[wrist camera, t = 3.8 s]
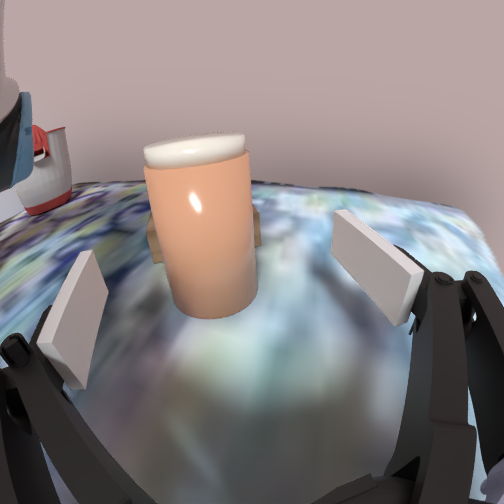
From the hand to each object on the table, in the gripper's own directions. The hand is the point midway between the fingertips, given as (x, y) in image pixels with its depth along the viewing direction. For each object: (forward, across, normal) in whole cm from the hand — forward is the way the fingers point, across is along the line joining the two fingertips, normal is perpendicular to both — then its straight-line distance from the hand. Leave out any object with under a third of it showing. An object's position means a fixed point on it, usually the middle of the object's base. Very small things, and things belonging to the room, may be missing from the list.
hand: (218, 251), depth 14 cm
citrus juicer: (+46, -35, -7) cm, 59 cm away
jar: (+6, 0, -7) cm, 9 cm away
